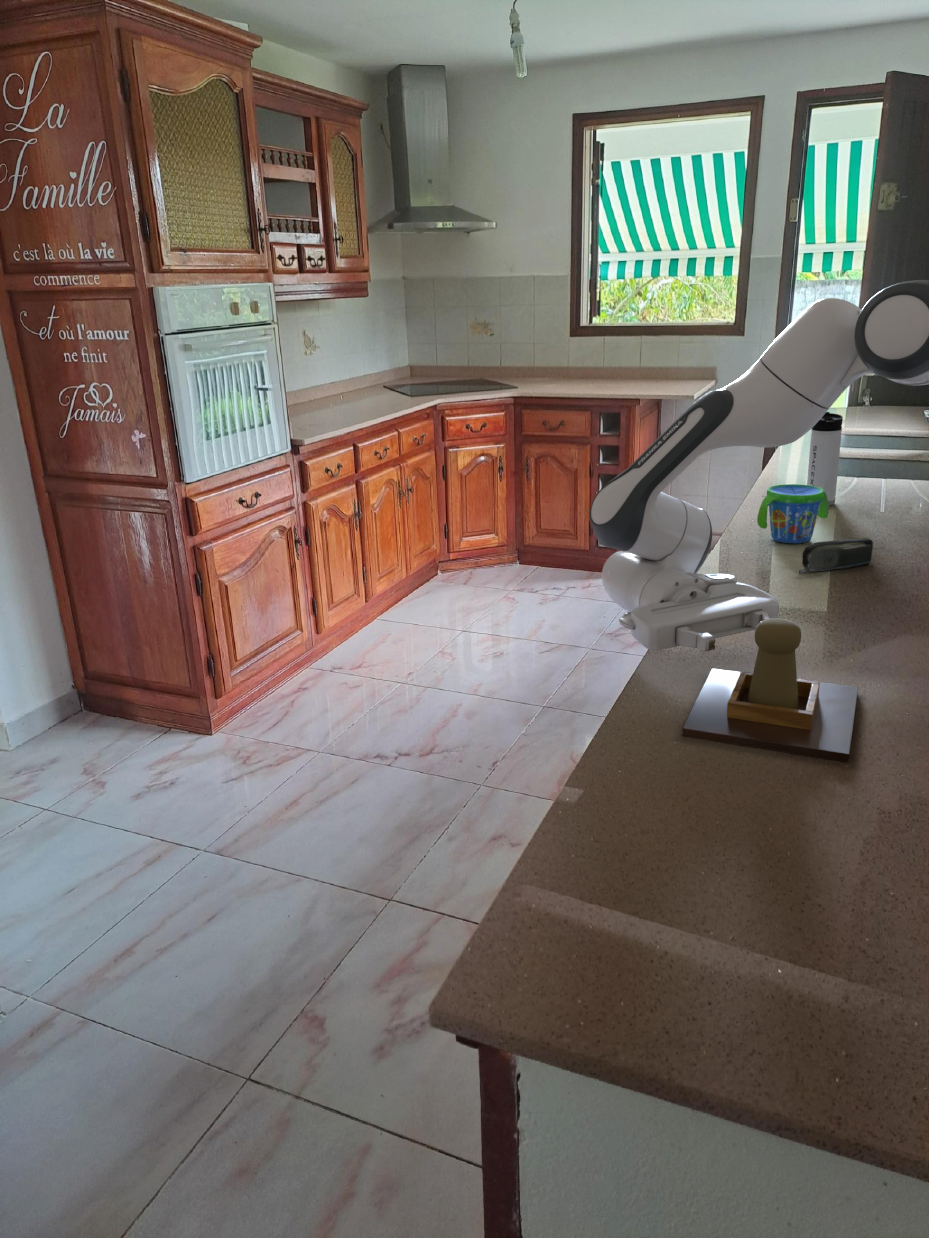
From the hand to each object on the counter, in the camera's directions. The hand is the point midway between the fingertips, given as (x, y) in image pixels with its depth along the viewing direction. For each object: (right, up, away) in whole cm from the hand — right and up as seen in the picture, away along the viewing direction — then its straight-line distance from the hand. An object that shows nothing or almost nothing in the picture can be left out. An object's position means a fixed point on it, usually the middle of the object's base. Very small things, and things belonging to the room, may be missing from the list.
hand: (742, 638), depth 110 cm
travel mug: (+46, +29, +90) cm, 106 cm away
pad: (+3, -9, -3) cm, 10 cm away
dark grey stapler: (+31, +11, +47) cm, 58 cm away
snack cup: (+30, +18, +65) cm, 74 cm away
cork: (+3, -8, -3) cm, 9 cm away
